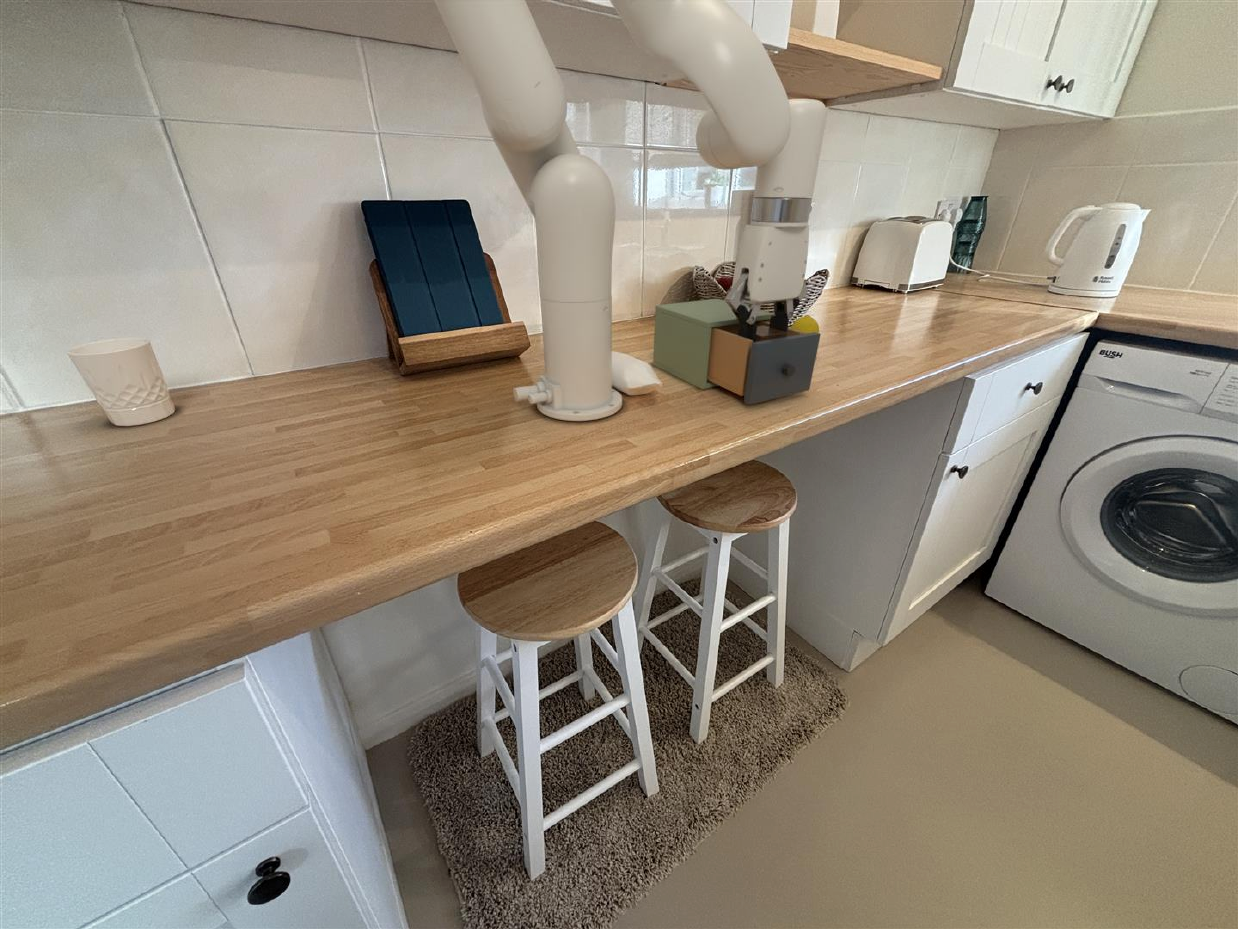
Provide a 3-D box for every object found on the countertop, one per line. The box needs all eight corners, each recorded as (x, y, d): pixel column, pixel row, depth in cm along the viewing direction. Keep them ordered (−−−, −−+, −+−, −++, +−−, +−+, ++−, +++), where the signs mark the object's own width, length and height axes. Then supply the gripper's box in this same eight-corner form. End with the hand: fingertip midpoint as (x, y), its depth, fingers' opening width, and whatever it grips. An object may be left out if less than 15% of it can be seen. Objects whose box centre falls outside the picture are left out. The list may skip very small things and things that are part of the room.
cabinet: (764, 376, 85) (774, 313, 80) (701, 389, 79) (708, 322, 74) (711, 354, 96) (716, 298, 91) (652, 364, 90) (655, 305, 85)
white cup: (189, 403, 73) (158, 335, 68) (168, 423, 66) (133, 350, 62) (122, 410, 70) (86, 340, 65) (94, 432, 64) (52, 357, 59)
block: (757, 369, 73) (762, 336, 71) (734, 360, 77) (738, 328, 75) (781, 364, 76) (787, 332, 73) (758, 356, 79) (763, 325, 77)
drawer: (815, 392, 76) (827, 335, 72) (755, 407, 70) (764, 346, 66) (749, 366, 87) (756, 315, 83) (693, 377, 82) (697, 323, 77)
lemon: (810, 353, 98) (818, 312, 94) (817, 361, 93) (826, 318, 89) (782, 352, 98) (789, 311, 94) (787, 360, 93) (795, 317, 89)
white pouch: (639, 410, 71) (642, 372, 69) (595, 386, 80) (596, 351, 77) (671, 402, 74) (674, 366, 72) (625, 380, 83) (627, 347, 80)
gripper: (803, 211, 73) (783, 334, 82) (712, 213, 65) (700, 347, 74) (846, 213, 67) (819, 345, 76) (751, 215, 60) (733, 360, 69)
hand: (760, 345), depth 75 cm, fingers open, 5 cm apart
